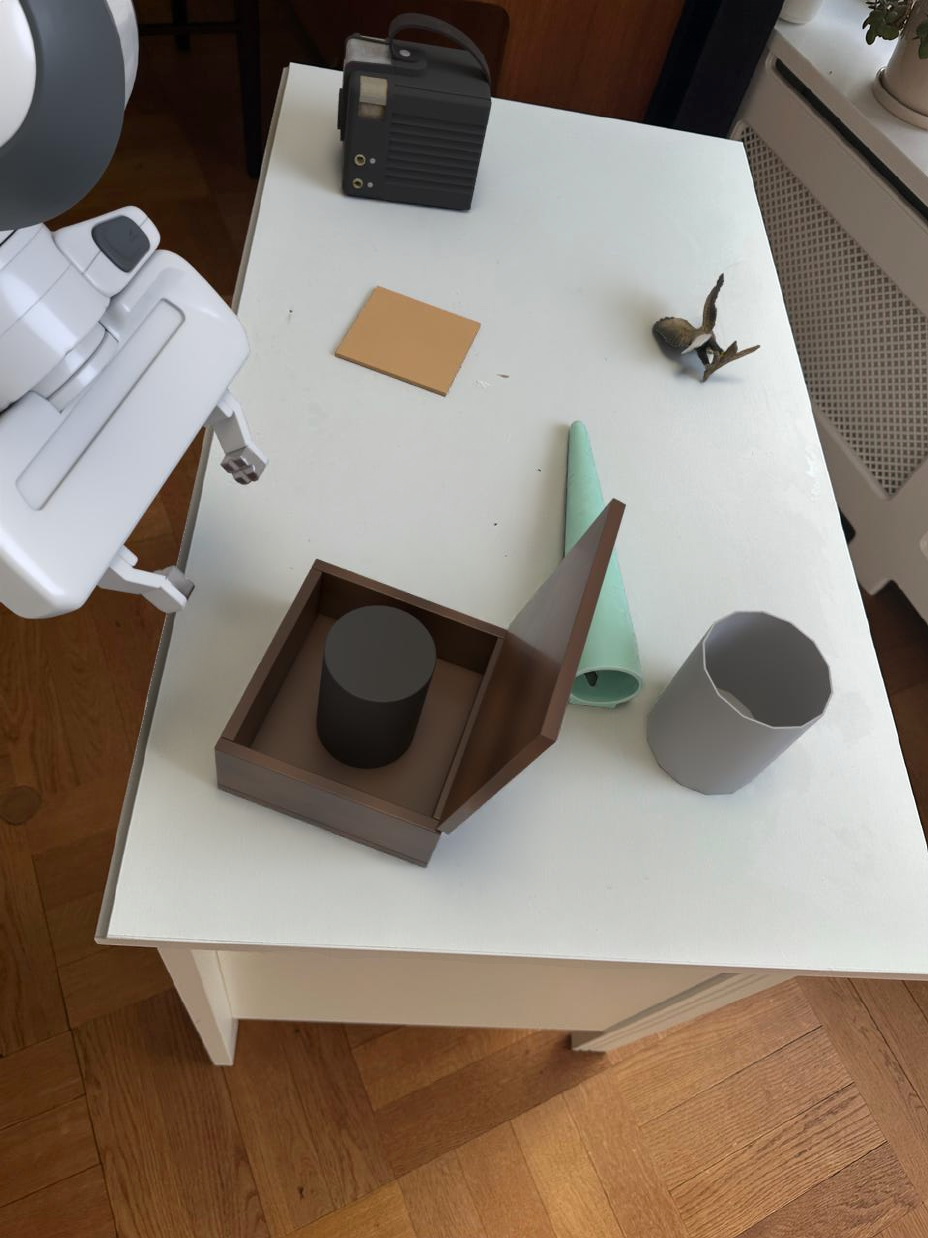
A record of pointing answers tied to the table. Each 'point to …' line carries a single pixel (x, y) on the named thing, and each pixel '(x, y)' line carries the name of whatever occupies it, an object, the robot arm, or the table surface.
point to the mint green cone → (612, 623)
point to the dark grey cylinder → (373, 685)
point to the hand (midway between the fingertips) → (221, 534)
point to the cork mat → (409, 340)
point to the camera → (413, 116)
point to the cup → (738, 702)
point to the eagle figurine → (702, 335)
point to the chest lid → (533, 673)
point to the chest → (290, 745)
